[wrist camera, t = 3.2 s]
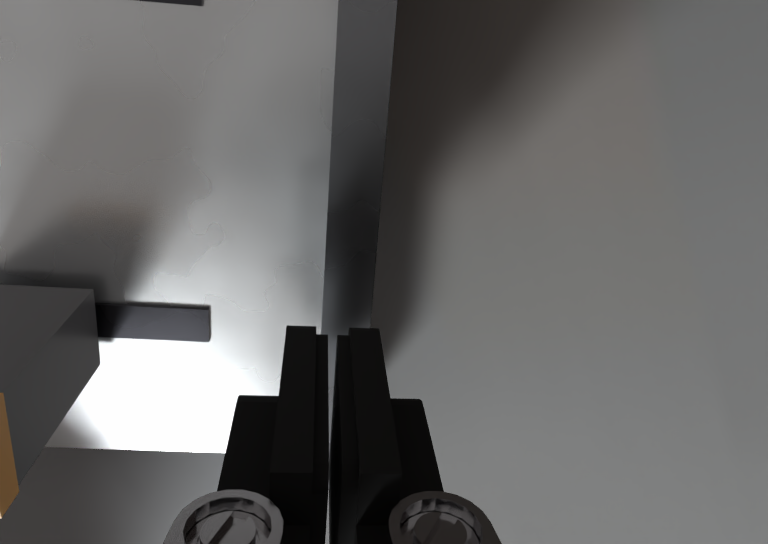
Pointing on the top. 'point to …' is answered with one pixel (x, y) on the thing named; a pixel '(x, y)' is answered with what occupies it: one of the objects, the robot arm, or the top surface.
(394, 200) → the top surface
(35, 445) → the fader cap
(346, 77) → the console
